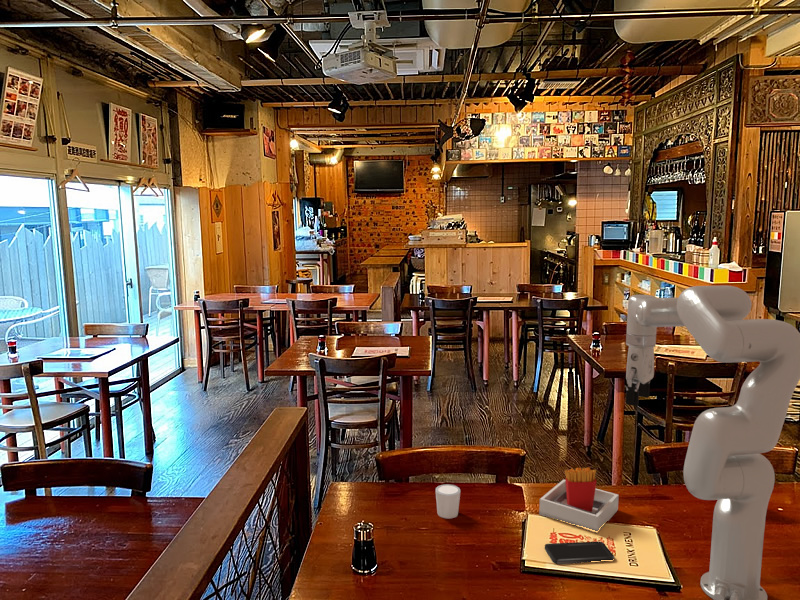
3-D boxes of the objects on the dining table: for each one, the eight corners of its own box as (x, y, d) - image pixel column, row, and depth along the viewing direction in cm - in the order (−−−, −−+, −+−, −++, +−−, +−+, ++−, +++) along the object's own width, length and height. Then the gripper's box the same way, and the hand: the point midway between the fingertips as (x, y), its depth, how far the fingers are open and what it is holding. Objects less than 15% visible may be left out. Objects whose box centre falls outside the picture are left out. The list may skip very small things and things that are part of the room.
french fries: (591, 505, 166) (593, 464, 164) (596, 512, 162) (598, 470, 160) (561, 506, 165) (563, 465, 164) (566, 513, 161) (568, 471, 160)
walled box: (596, 533, 153) (597, 516, 152) (539, 514, 163) (539, 499, 162) (617, 510, 165) (618, 494, 165) (563, 493, 175) (563, 479, 175)
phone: (616, 558, 140) (554, 561, 139) (615, 563, 140) (554, 565, 139) (602, 541, 148) (543, 543, 147) (601, 545, 148) (543, 547, 147)
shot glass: (464, 516, 162) (465, 492, 161) (441, 521, 159) (442, 496, 158) (453, 505, 168) (453, 482, 167) (431, 510, 165) (431, 486, 165)
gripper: (645, 347, 154) (642, 411, 156) (664, 337, 167) (660, 396, 169) (616, 343, 158) (613, 405, 161) (636, 333, 172) (633, 391, 174)
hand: (637, 400), depth 165 cm, fingers open, 9 cm apart
